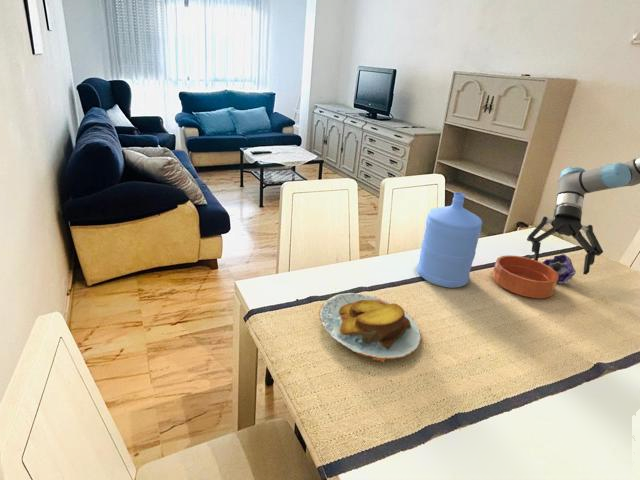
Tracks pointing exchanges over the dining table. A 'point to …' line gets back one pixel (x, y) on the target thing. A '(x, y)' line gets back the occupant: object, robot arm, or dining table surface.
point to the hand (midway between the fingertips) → (560, 267)
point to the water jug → (449, 244)
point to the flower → (561, 267)
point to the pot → (525, 276)
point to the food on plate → (370, 326)
